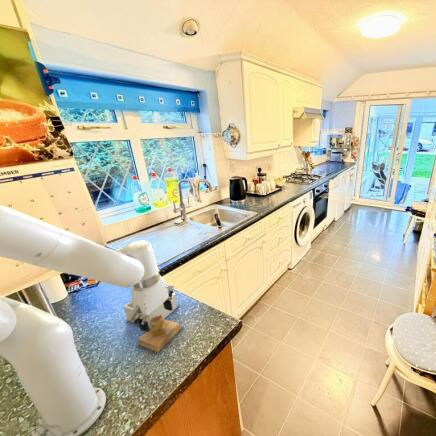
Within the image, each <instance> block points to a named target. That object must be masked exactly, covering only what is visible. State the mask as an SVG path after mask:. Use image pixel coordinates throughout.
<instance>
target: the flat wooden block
mask: <svg viewBox="0 0 436 436" xmlns="http://www.w3.org/2000/svg"><path fill="white" fill-rule="evenodd" d="M163 320H164V324H165V328H166V329H165V331H164V333H162V334H160V335H157V336H156V335H153V332H152V329H151V327H150V331H149V332H146V331H145V332H144V333H143V334H142V335H141V336H140V337H138V339H137V340H138V344H139V346H140V347H143V348H144V349H145V348H146V349H148V350H151V351H153V352H156V353H159V352H160V351H161V350H162V349H163V348H164V347H165V346H166V345H167V344H168V343H169V342H170V341H171V340H172V339H173V338H174V337H175V336H176V335H177V334H178V333H179V332H180V331H181V327H180V323H179V322H176V321H172V320H169V319H166V318H165V319H163Z"/></svg>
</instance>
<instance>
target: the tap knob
mask: <svg viewBox="0 0 436 436" xmlns="http://www.w3.org/2000/svg"><path fill="white" fill-rule="evenodd" d="M150 325H151V329H152V332H153V335H156V336H157V335H160V334H162V333H164V331H165V329H166V328H165V324H164V320H163V317H162V316H161V315H160V316H156V317H153V318H152V319H151V320H150Z"/></svg>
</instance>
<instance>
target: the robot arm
mask: <svg viewBox="0 0 436 436" xmlns="http://www.w3.org/2000/svg"><path fill="white" fill-rule="evenodd" d="M0 257H1V258H5V259H10V260H13V261H18V262H20V263H21V262H22V263H25V264H28V265H31V266H32V265H33V266H35V267H39V268H44V269H47V270H50V271H54V272H57V273H63V274H67V275H73V276H78V277H82V278H86V279H89V280H92V281H97V282H101V283H105V284H108V285H112V286H116V287H119V288H131V289H130V299H131V301H132V304H133V308H134V310H133V311H132V313H131V314H130V315H129V317H128V318H127V317H126V321H128V322H130V323H132V324H135V325H138V327H139V330H141V332H145V333H146V332H149V331H150V328H149V325H148V322H147V321H146V319H147V316H148V315H149V314H150V313H152V312H153V311H154V310H155V309H156V308H158V307H159V306H160V305H161V304H162V303H163V305H164V308H165V309H166V310H169V311H172V310H173V308H172V303H171V300H172V294H173V293H174V289H175V285H174V284H171V283H170V284H166V282H165V279H164V278H163V277H162V275H161V274H160V271H161V270H162V268H161V267H160V266H158V264H157V260H156V256H155V252H154V248H153V245H152V243H151V242H149V241H148V240H139V241H137V240H136V241H133V242H130V243H128V244H127V245H125V246H124V247H121V248H118V249H115V250H114V249H111V248H108V247H106V246H103V245H101V244H98V243H96V242H93V241H92V240H89V239H87V238H85V237H82V236H80V235H77V234H75V233H72V232H71V231H68V230H65V229H62V228H60V227H57V226H55V225H52V224H49V223H48V222H44V221H43V220H40V219H38V218H36V217H32V216H30V215H28V214H25V213H22V212H20V211H17V210H15V209H13V208H10V207H7V206H4V205H2V204H0ZM137 314H138V315H137ZM136 315H137V318H136V319H135V317H136ZM142 315H143V318H142V319H141V316H142ZM74 340H75V338H74V332H73V330H72V327H71V326H70V325H69V324H68V323H67V322H66V321H65V320H63V319H62V318H60V317H58V316H56V315H54V314H52V313H49V312H47V311H44V310H43V309H40V308H39V307H35V306H34V305H31V304H29V303H24V302H22V301H19V300H15V299H12V298H10V297H7V296H3V295H0V357H2V358H3V359H4V360H6V361H7V362H8V363H9V364H10V365H11V366H12V368H13V369H14V370H15V373H16V375H17V376H16V377H17V379H18V381H19V383H20V385H21V387H22V389H23V390H24V392H25V393H26V395H27V396H28V398H29V400H30V401H31V403H32V405H33V406H34V407H35V409H36V411H37V412H38V414H39V415H40V417H41V419H40V420H39V421H38V424H39V426H37V428H36V429H35V432H34V433H33V434H31V436H81V435H82V434H83V433H85V432H86V431H87V430H89V428H91V427H92V426H93V424H95V422H96V421H97V420H98V419H99V417H100V416H101V414H102V413H103V411H104V409H105V407H106V404H107V403H106V402H107V395H106V393H105V390H103V389H102V388H100V387H93V383H92V382H91V380H90V377H89V375H88V373H87V371H86V368H85V366H84V364H83V362H82V359H81V357H80V355H79V353H78V351H77V347H76V344H75V341H74Z"/></svg>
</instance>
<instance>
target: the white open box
mask: <svg viewBox="0 0 436 436" xmlns="http://www.w3.org/2000/svg"><path fill="white" fill-rule="evenodd" d="M171 303H172V308H173V310H172V311H169V310H166V309H165V308H164V305H163V303H162V304H161V305H160V306H159V307H158V308H156V309H155V310H154V311H153V312H152V313H150V314H149V315H148V316H147V319H146V321H147V322H148V325H149V328H150V327H151V325H150V320H151V319H152V318H153V317H156V316H160V315H161V316H162V317H163V319H166V318H167V317H168V316H169V315H170V314H171V313H173V312H174V311H175V310H176V309H177V308H178V307H179V303H178V300H177V294H176V293H175V292H173V294H172V300H171ZM123 309H124V313H125V317H126V319H127V318H128V317H129V315H130V314H131V313H132V311H133V310H134V308H133V304H132V300H131V301H130V302H128V303H127V304H125V305H124V306H123ZM137 315H138V314H137ZM137 315H136V317H135V319H136V318H137ZM142 318H143V315H142V316H141V319H142Z"/></svg>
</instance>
